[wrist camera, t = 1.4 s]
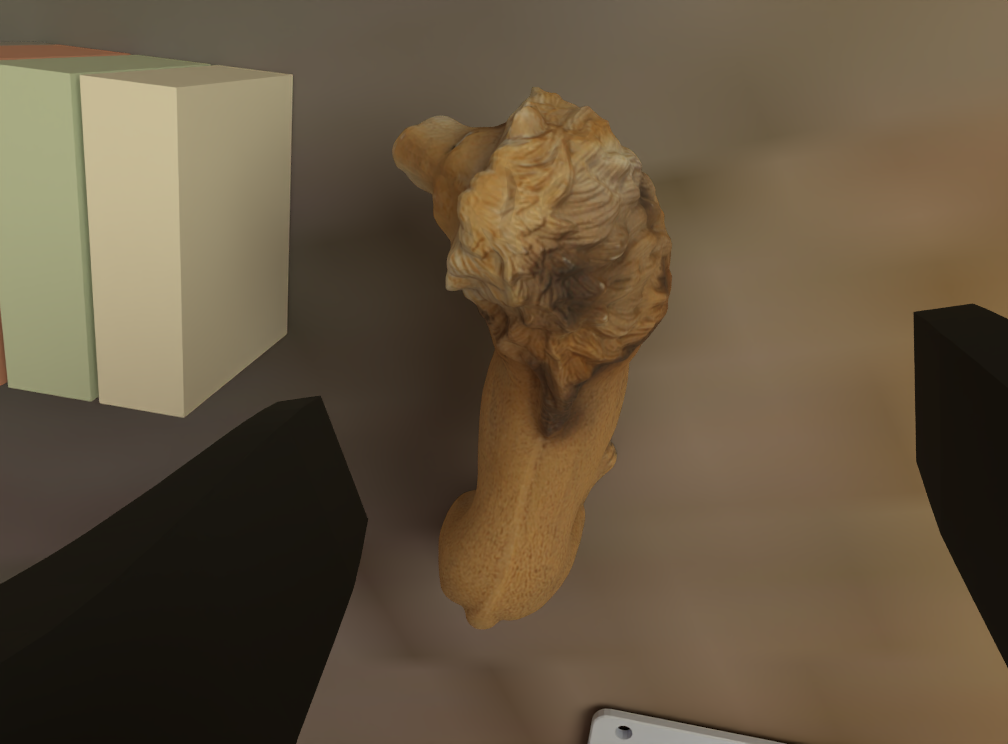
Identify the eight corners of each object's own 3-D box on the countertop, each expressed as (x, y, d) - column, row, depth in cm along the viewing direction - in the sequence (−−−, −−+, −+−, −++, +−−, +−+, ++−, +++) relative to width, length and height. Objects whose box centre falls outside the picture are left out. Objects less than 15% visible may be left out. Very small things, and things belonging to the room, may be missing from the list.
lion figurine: (464, 69, 22) (349, 90, 14) (682, 78, 22) (700, 106, 13) (456, 577, 27) (369, 813, 19) (632, 598, 27) (621, 853, 18)
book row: (292, 74, 23) (149, 90, 16) (287, 334, 25) (161, 436, 19) (33, 41, 24) (-202, 44, 17) (53, 296, 26) (-145, 382, 20)
